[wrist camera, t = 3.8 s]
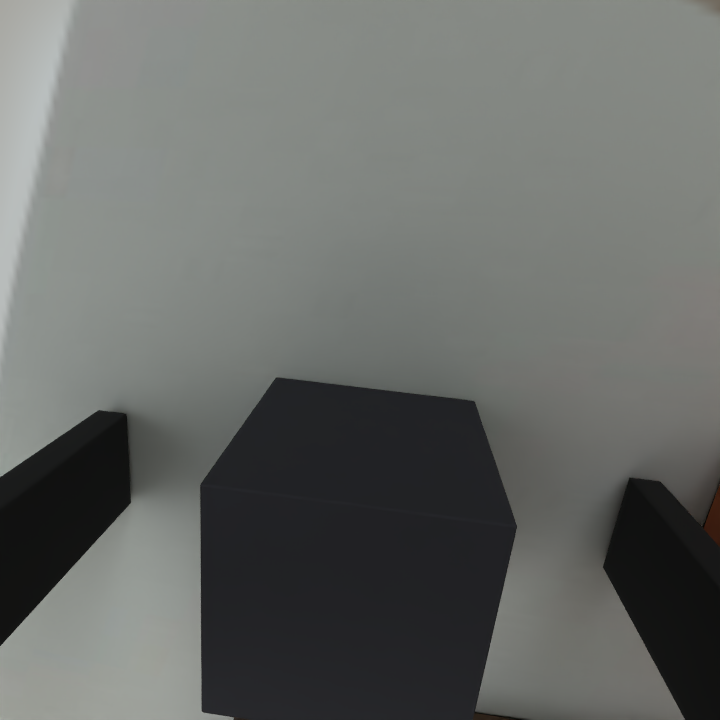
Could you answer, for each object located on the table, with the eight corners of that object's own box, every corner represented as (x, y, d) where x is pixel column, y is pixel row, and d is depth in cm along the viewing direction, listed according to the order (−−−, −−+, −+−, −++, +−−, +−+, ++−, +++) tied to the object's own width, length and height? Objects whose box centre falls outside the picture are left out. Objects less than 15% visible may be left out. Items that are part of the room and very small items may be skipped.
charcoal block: (275, 376, 13) (199, 484, 8) (475, 400, 12) (518, 526, 8) (268, 541, 14) (200, 714, 10) (445, 565, 14) (465, 754, 9)
